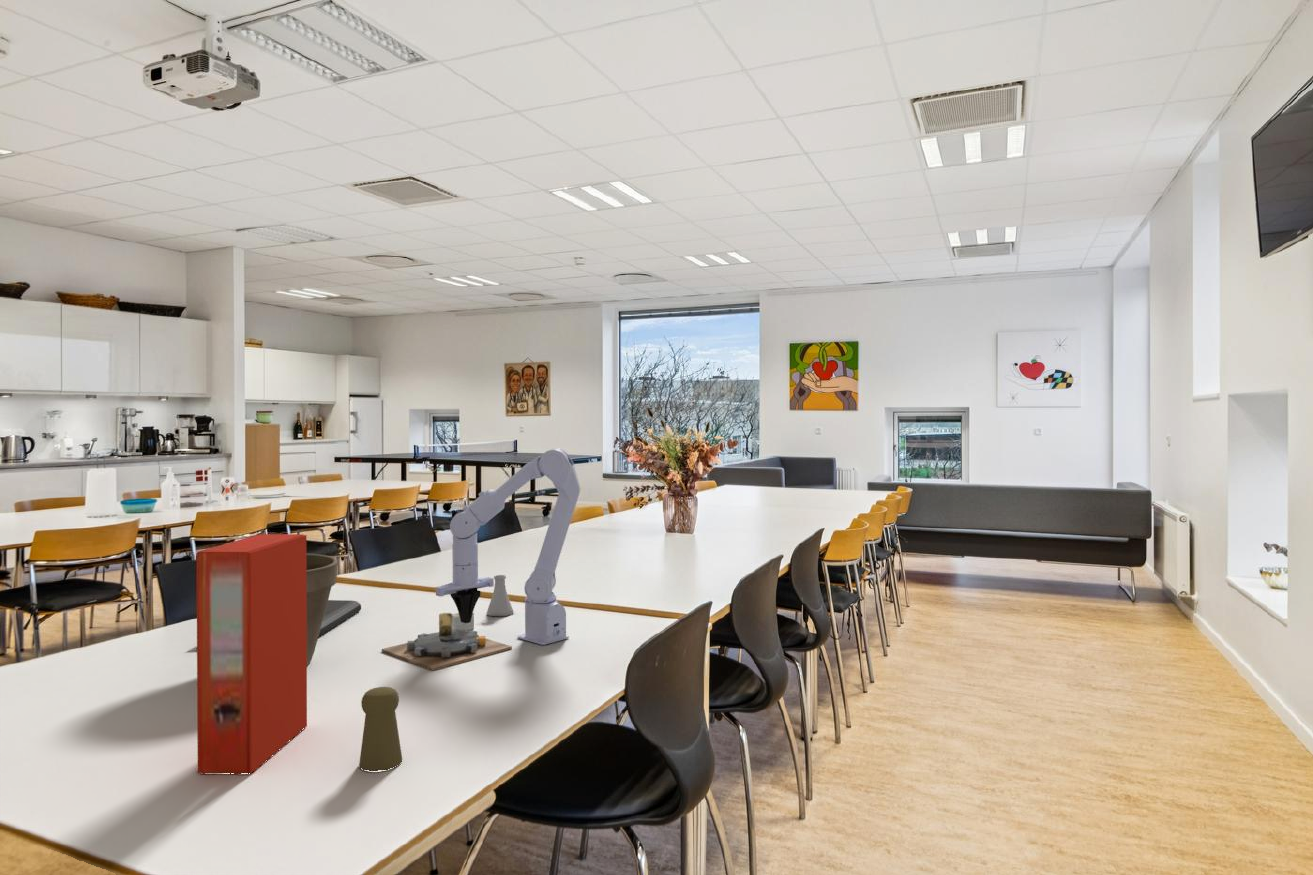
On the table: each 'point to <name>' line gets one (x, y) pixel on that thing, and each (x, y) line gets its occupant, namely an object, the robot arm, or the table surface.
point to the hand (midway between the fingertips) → (465, 622)
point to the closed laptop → (338, 613)
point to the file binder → (250, 650)
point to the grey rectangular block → (461, 623)
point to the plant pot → (318, 595)
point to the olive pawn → (380, 730)
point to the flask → (499, 599)
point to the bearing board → (439, 662)
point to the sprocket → (446, 640)
